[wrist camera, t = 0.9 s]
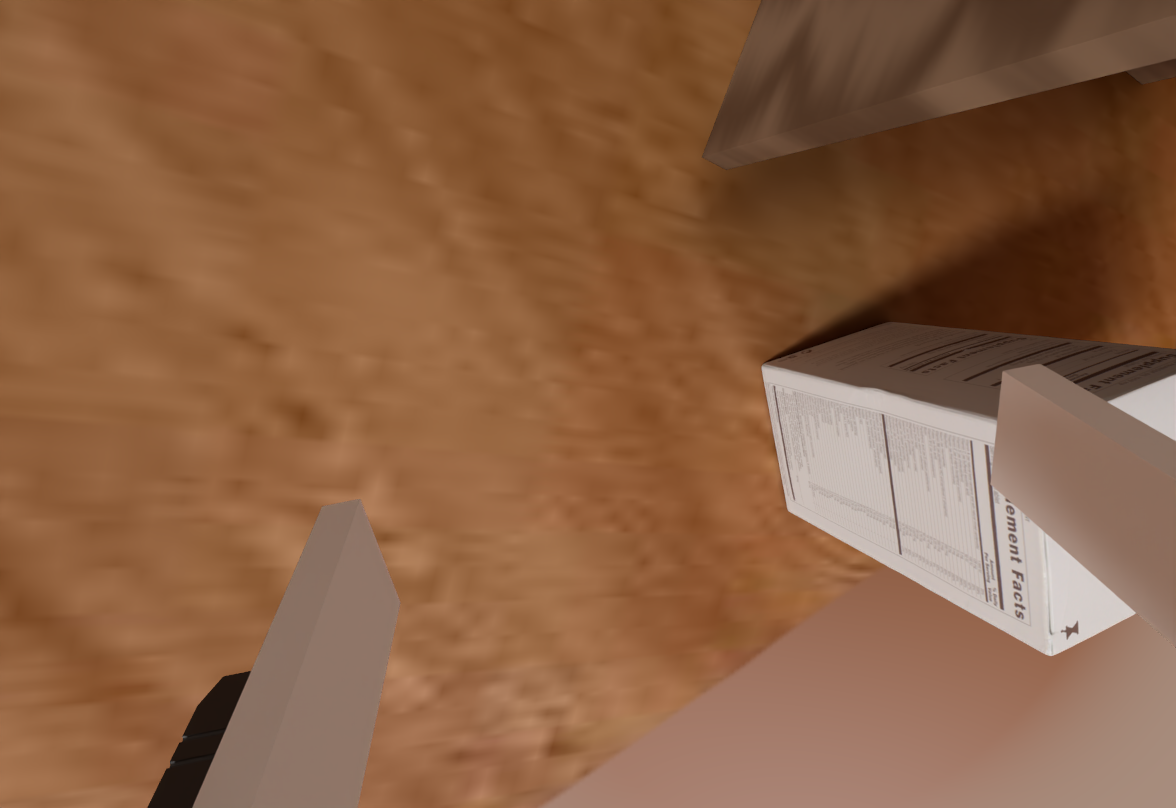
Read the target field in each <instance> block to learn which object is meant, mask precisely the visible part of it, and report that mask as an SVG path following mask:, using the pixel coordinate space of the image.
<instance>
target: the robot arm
mask: <svg viewBox="0 0 1176 808" xmlns="http://www.w3.org/2000/svg"><path fill="white" fill-rule="evenodd" d="M990 484H991V485H992V486H993V487H994V488H995V489H996V490H997V491H999V492H1000V493H1001V494H1002V495H1003V496H1004V497H1005V498H1007V499H1008V500H1009V501H1010V502H1011V503H1012V504H1013V505H1014V506H1016V507H1017V508H1018V509H1019V510H1020V511H1021V512H1022V513H1024V514H1025V515H1026V516H1027V517H1028V518H1029V519H1030V520H1031V521H1033V522H1034V523H1035V524H1036V525H1037V526H1038V527H1039V528H1041V529H1042V530H1043V531H1044V532H1045V533H1046V534H1047V535H1048V536H1050V537H1051V538H1052V539H1053V540H1054V541H1055V542H1056V543H1058V544H1059V545H1060V546H1061V547H1062V548H1063V549H1064V550H1065V551H1067V552H1068V553H1069V554H1070V555H1071V556H1072V557H1073V558H1075V559H1076V560H1077V561H1078V562H1079V563H1080V564H1081V565H1082V566H1084V567H1085V568H1086V569H1087V570H1088V571H1089V572H1090V573H1092V574H1093V575H1094V576H1095V577H1096V578H1097V579H1098V580H1099V581H1101V582H1102V583H1103V584H1104V585H1105V586H1106V587H1107V588H1109V589H1110V590H1111V591H1112V592H1113V593H1114V594H1115V595H1116V596H1118V597H1119V598H1120V599H1121V600H1122V601H1123V602H1124V603H1126V604H1127V605H1128V606H1129V607H1130V608H1131V609H1132V610H1133V611H1135V612H1136V613H1137V614H1138V615H1139V616H1140V617H1141V618H1143V619H1144V620H1145V621H1146V622H1147V623H1148V624H1150V625H1151V626H1152V627H1153V628H1154V629H1155V630H1156V631H1157V632H1158V633H1160V634H1161V635H1162V636H1163V637H1164V638H1165V639H1166V640H1167V641H1169V642H1170V643H1171V644H1172V645H1173V646H1174V647H1175V648H1176V441H1175V440H1173V439H1171V438H1169V437H1168V436H1166V435H1164V434H1162V433H1161V432H1159V431H1157V430H1155V429H1154V428H1152V427H1150V426H1148V425H1147V424H1145V423H1143V422H1141V421H1140V420H1138V419H1136V418H1134V417H1133V416H1131V415H1129V414H1127V413H1126V412H1124V411H1122V410H1120V409H1119V408H1117V407H1115V406H1113V405H1112V404H1110V403H1108V402H1106V401H1105V400H1103V399H1101V398H1099V397H1098V396H1096V395H1094V394H1092V393H1091V392H1089V391H1087V390H1085V389H1084V388H1082V387H1080V386H1078V385H1077V384H1075V383H1073V382H1071V381H1070V380H1068V379H1066V378H1064V377H1063V376H1061V375H1059V374H1057V373H1055V372H1054V371H1052V370H1050V369H1048V368H1047V367H1045V366H1043V365H1041V364H1035V365H1030V366H1025V367H1020V368H1015V369H1010V370H1005V371H1003V373H1002V382H1001V391H1000V400H999V410H998V419H997V428H996V437H995V447H994V456H993V465H992V474H991V483H990ZM399 607H400V600H399V598H398V595H397V593H396V590H395V587H394V585H393V582H392V580H391V577H390V575H389V572H388V569H387V567H386V564H385V562H384V559H383V556H382V554H381V551H380V549H379V546H378V544H377V541H376V538H375V536H374V533H373V531H372V528H371V525H370V523H369V520H368V518H367V515H366V513H365V510H364V507H363V505H362V502H361V500H360V499H357V500H352V501H347V502H342V503H337V504H332V505H327V506H322V508H321V511H320V513H319V515H318V518H317V520H316V522H315V525H314V527H313V529H312V531H311V534H310V536H309V538H308V541H307V543H306V545H305V548H304V550H303V552H302V555H301V557H300V559H299V562H298V564H297V566H296V569H295V571H294V573H293V576H292V578H291V580H290V582H289V585H288V587H287V589H286V592H285V594H284V596H283V599H282V601H281V603H280V606H279V608H278V610H277V613H276V615H275V617H274V620H273V622H272V624H271V626H270V629H269V631H268V633H267V636H266V638H265V640H264V643H263V645H262V647H261V650H260V652H259V654H258V657H257V659H256V661H255V664H254V666H253V668H252V671H249V672H244V673H239V674H234V675H229V676H224V677H223V678H222V679H221V680H220V681H219V682H218V683H217V684H216V685H215V687H214V688H213V689H212V690H211V691H210V692H209V693H208V695H207V696H206V697H205V698H204V699H203V700H202V701H201V702H200V704H199V705H198V706H197V708H196V710H195V712H194V714H193V716H192V718H191V720H190V722H189V724H188V726H187V728H186V730H185V732H184V734H183V736H182V737H183V742H180V743H179V745H178V747H177V749H176V751H175V753H174V755H173V757H172V759H171V761H170V768H168V769H166V771H165V773H164V775H163V777H162V779H161V781H160V783H159V785H158V787H157V789H156V791H155V793H154V795H153V797H152V799H151V801H150V804H149V806H148V808H357V807H358V802H359V798H360V793H361V788H362V783H363V779H364V774H365V769H366V764H367V759H368V755H369V750H370V745H371V740H372V736H373V731H374V726H375V721H376V717H377V712H378V707H379V702H380V697H381V693H382V688H383V683H384V678H385V674H386V669H387V664H388V659H389V655H390V650H391V645H392V640H393V635H394V631H395V626H396V621H397V616H398V612H399Z"/></svg>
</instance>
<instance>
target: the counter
mask: <svg viewBox="0 0 1176 808" xmlns="http://www.w3.org/2000/svg"><path fill="white" fill-rule="evenodd" d="M1123 71H1126V72H1127V73H1128V74H1130V75H1131V76H1132V77H1134V78H1135V79H1136V80H1137V81H1139V82H1140V83H1141V84H1146V83H1151V82H1155V81H1160V80H1164V79H1169V78H1173V77H1176V0H762V1H761V4H760V6H759V9H758V11H757V14H756V17H755V19H754V22H753V25H752V27H751V30H750V32H749V35H748V38H747V40H746V43H745V46H744V48H743V51H742V53H741V56H740V59H739V61H738V64H737V67H736V69H735V72H734V74H733V77H732V80H731V82H730V85H729V88H728V90H727V93H726V95H725V98H724V101H723V103H722V106H721V109H720V111H719V114H718V116H717V119H716V122H715V124H714V127H713V130H712V132H711V135H710V137H709V140H708V143H707V145H706V148H705V151H704V153H703V156H702V157H703V158H705V159H707V160H709V161H711V162H712V163H714V164H716V165H718V166H720V167H722V168H724V169H726V170H727V169H731V168H735V167H739V166H743V165H747V164H751V163H755V162H760V161H764V160H768V159H772V158H776V157H780V156H784V155H788V154H792V153H796V152H800V151H804V150H808V149H812V148H816V147H820V146H824V145H828V144H832V143H836V142H840V141H844V140H848V139H852V138H857V137H861V136H865V135H869V134H873V133H877V132H881V131H885V130H889V129H893V128H897V127H901V126H905V125H909V124H913V123H917V122H921V121H925V120H929V119H933V118H937V117H941V116H945V115H949V114H954V113H958V112H962V111H966V110H970V109H974V108H978V107H982V106H986V105H990V104H994V103H998V102H1002V101H1006V100H1010V99H1014V98H1018V97H1022V96H1026V95H1030V94H1034V93H1038V92H1042V91H1046V90H1051V89H1055V88H1059V87H1063V86H1067V85H1071V84H1075V83H1079V82H1083V81H1087V80H1091V79H1095V78H1099V77H1103V76H1107V75H1111V74H1115V73H1119V72H1123Z"/></svg>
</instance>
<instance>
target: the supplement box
mask: <svg viewBox="0 0 1176 808" xmlns="http://www.w3.org/2000/svg"><path fill="white" fill-rule="evenodd" d="M1035 364H1041V365H1043V366H1045V367H1047V368H1048V369H1050V370H1052V371H1054V372H1055V373H1057V374H1059V375H1061V376H1063V377H1064V378H1066V379H1068V380H1070V381H1071V382H1073V383H1075V384H1077V385H1078V386H1080V387H1082V388H1084V389H1085V390H1087V391H1089V392H1091V393H1092V394H1094V395H1096V396H1098V397H1099V398H1101V399H1103V400H1105V401H1106V402H1108V403H1110V404H1112V405H1113V406H1115V407H1117V408H1119V409H1120V410H1122V411H1124V412H1126V413H1127V414H1129V415H1131V416H1133V417H1134V418H1136V419H1138V420H1140V421H1141V422H1143V423H1145V424H1147V425H1148V426H1150V427H1152V428H1154V429H1155V430H1157V431H1159V432H1161V433H1162V434H1164V435H1166V436H1168V437H1169V438H1171V439H1173V440H1175V441H1176V349H1168V348H1158V347H1148V346H1138V345H1128V344H1117V343H1107V342H1096V341H1085V340H1075V339H1064V338H1054V337H1044V336H1034V335H1023V334H1013V333H1003V332H992V331H982V330H971V329H960V328H949V327H938V326H928V325H918V324H909V323H898V322H887V323H884V324H881V325H877V326H874V327H871V328H868V329H865V330H862V331H859V332H856V333H853V334H850V335H847V336H844V337H841V338H838V339H835V340H832V341H829V342H826V343H823V344H820V345H817V346H814V347H811V348H808V349H805V350H802V351H799V352H796V353H794V354H791V355H788V356H785V357H782V358H779V359H776V360H773V361H770V362H767V363H764V364H763V365H762V374H763V379H764V385H765V390H766V396H767V401H768V406H769V412H770V417H771V423H772V428H773V434H774V439H775V445H776V450H777V455H778V461H779V466H780V472H781V477H782V482H783V488H784V493H785V499H786V504H787V509H788V511H789V512H791V513H793V514H794V515H796V516H798V517H800V518H802V519H803V520H805V521H807V522H809V523H811V524H813V525H814V526H816V527H818V528H820V529H822V530H823V531H825V532H827V533H829V534H831V535H832V536H834V537H836V538H838V539H839V540H841V541H843V542H845V543H847V544H849V545H850V546H852V547H854V548H856V549H858V550H859V551H861V552H863V553H865V554H867V555H868V556H870V557H872V558H874V559H876V560H877V561H879V562H881V563H883V564H885V565H886V566H888V567H890V568H892V569H894V570H895V571H898V572H899V573H901V574H903V575H905V576H907V577H908V578H910V579H912V580H913V581H915V582H917V583H919V584H921V585H923V586H924V587H926V588H927V589H929V590H931V591H933V592H934V593H937V594H939V595H940V596H942V597H944V598H946V599H947V600H949V601H951V602H952V603H954V604H956V605H958V606H960V607H961V608H963V609H965V610H967V611H969V612H970V613H972V614H974V615H976V616H978V617H979V618H981V619H983V620H985V621H986V622H988V623H990V624H992V625H994V626H996V627H997V628H999V629H1001V630H1003V631H1005V632H1006V633H1008V634H1010V635H1012V636H1014V637H1015V638H1017V639H1019V640H1021V641H1023V642H1024V643H1026V644H1028V645H1030V646H1031V647H1033V648H1035V649H1037V650H1038V651H1040V652H1042V653H1044V654H1046V655H1049V656H1053V655H1055V654H1058V653H1060V652H1062V651H1064V650H1066V649H1068V648H1070V647H1072V646H1074V645H1076V644H1078V643H1080V642H1082V641H1084V640H1086V639H1088V638H1089V637H1092V636H1094V635H1096V634H1098V633H1099V632H1101V631H1103V630H1105V629H1107V628H1109V627H1111V626H1113V625H1115V624H1117V623H1119V622H1120V621H1122V620H1124V619H1126V618H1128V617H1130V616H1132V615H1134V614H1136V612H1135V611H1133V610H1132V609H1131V608H1130V607H1129V606H1128V605H1127V604H1126V603H1124V602H1123V601H1122V600H1121V599H1120V598H1119V597H1118V596H1116V595H1115V594H1114V593H1113V592H1112V591H1111V590H1110V589H1109V588H1107V587H1106V586H1105V585H1104V584H1103V583H1102V582H1101V581H1099V580H1098V579H1097V578H1096V577H1095V576H1094V575H1093V574H1092V573H1090V572H1089V571H1088V570H1087V569H1086V568H1085V567H1084V566H1082V565H1081V564H1080V563H1079V562H1078V561H1077V560H1076V559H1075V558H1073V557H1072V556H1071V555H1070V554H1069V553H1068V552H1067V551H1065V550H1064V549H1063V548H1062V547H1061V546H1060V545H1059V544H1058V543H1056V542H1055V541H1054V540H1053V539H1052V538H1051V537H1050V536H1048V535H1047V534H1046V533H1045V532H1044V531H1043V530H1042V529H1041V528H1039V527H1038V526H1037V525H1036V524H1035V523H1034V522H1033V521H1031V520H1030V519H1029V518H1028V517H1027V516H1026V515H1025V514H1024V513H1022V512H1021V511H1020V510H1019V509H1018V508H1017V507H1016V506H1014V505H1013V504H1012V503H1011V502H1010V501H1009V500H1008V499H1007V498H1005V497H1004V496H1003V495H1002V494H1001V493H1000V492H999V491H997V490H996V489H995V488H994V487H993V486H992V485H991V484H990V483H991V474H992V465H993V456H994V447H995V437H996V428H997V419H998V410H999V400H1000V391H1001V382H1002V373H1003V371H1005V370H1010V369H1015V368H1020V367H1025V366H1030V365H1035Z"/></svg>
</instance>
